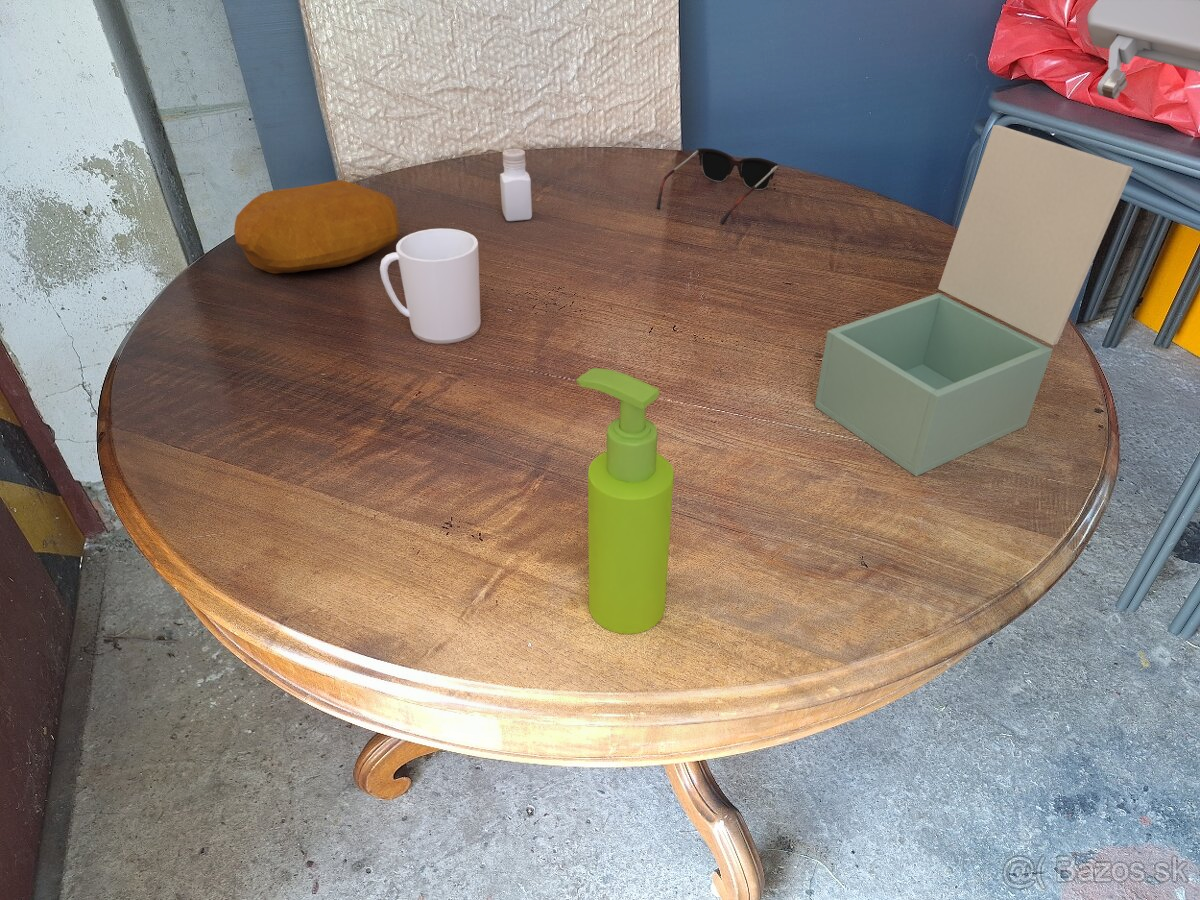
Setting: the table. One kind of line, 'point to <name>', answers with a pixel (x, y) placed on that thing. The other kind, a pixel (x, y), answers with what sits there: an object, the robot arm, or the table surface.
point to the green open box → (929, 380)
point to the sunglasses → (721, 166)
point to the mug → (438, 284)
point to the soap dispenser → (628, 511)
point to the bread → (315, 226)
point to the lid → (1032, 230)
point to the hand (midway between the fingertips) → (1158, 108)
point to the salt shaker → (515, 186)
